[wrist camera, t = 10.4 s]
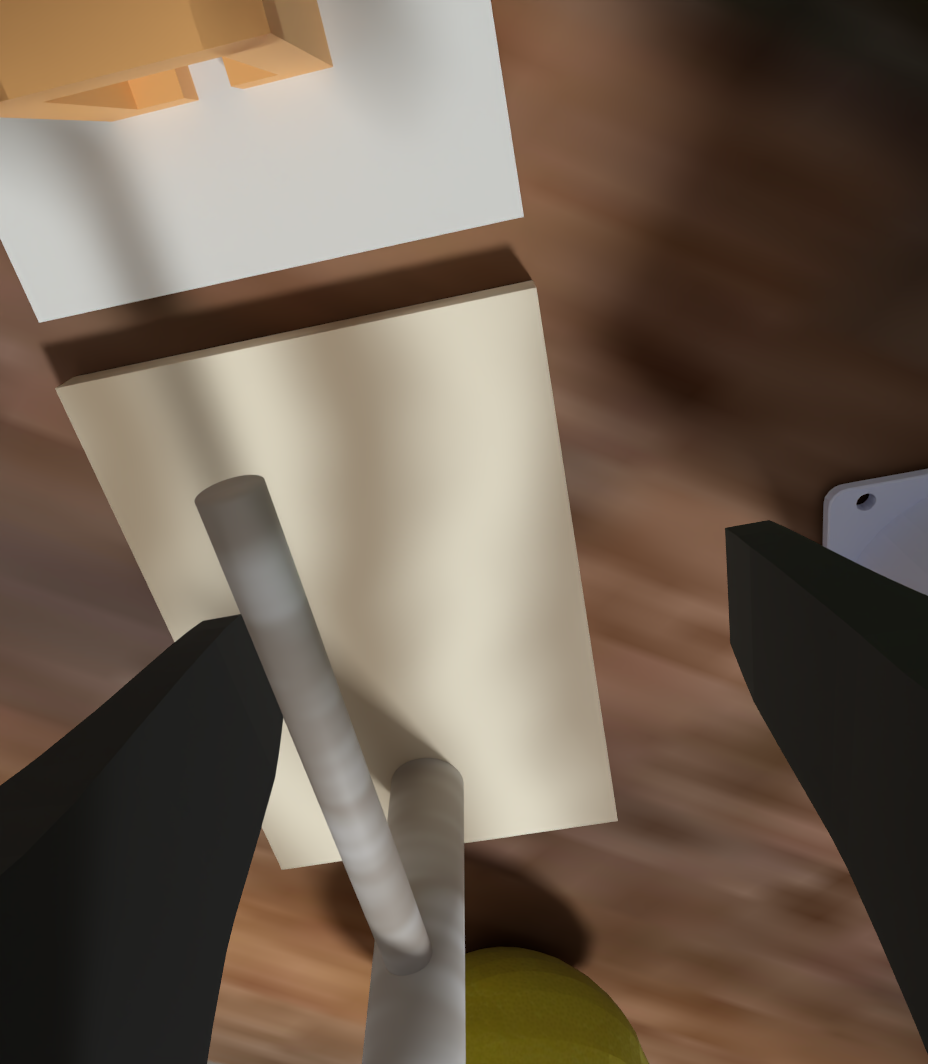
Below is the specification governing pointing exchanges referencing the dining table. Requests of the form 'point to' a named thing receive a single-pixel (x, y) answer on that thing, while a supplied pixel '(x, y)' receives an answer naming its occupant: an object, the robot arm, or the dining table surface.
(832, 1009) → the dining table surface
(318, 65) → the c link
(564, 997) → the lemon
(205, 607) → the hook stand
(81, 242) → the grey mat
